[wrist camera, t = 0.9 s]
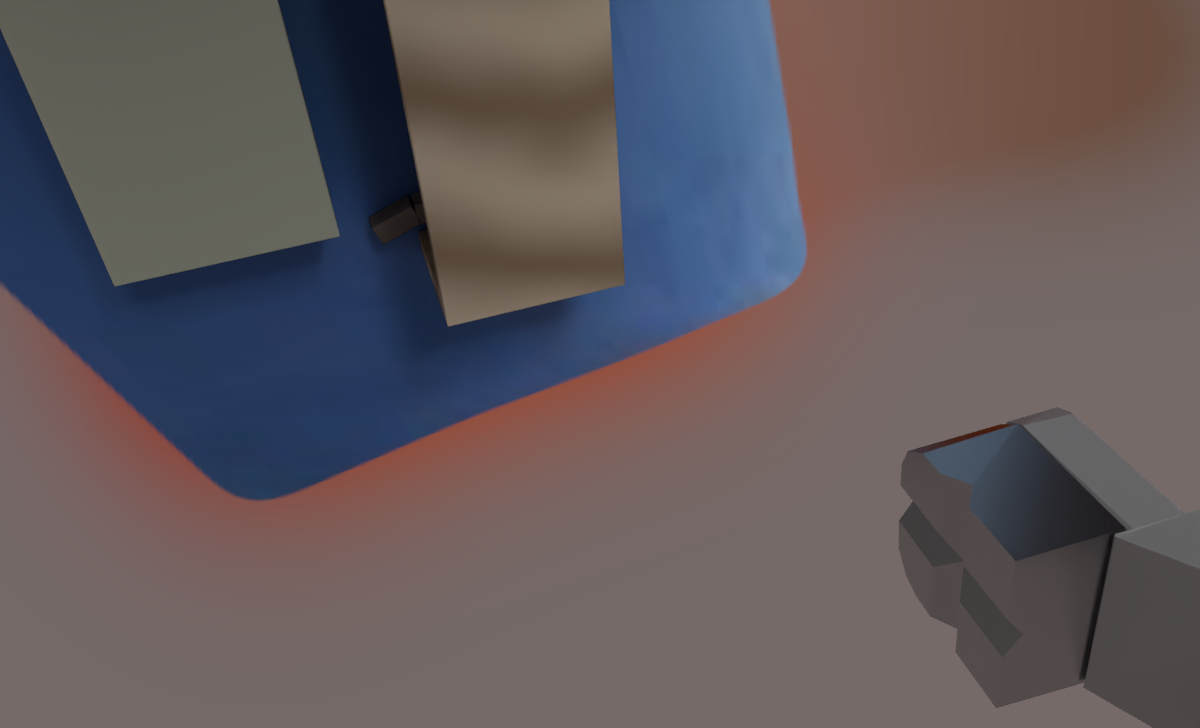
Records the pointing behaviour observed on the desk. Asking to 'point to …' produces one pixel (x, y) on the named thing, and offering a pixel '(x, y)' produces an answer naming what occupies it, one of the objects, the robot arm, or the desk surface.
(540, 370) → the desk surface
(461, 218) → the low shelf
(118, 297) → the desk surface
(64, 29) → the case
